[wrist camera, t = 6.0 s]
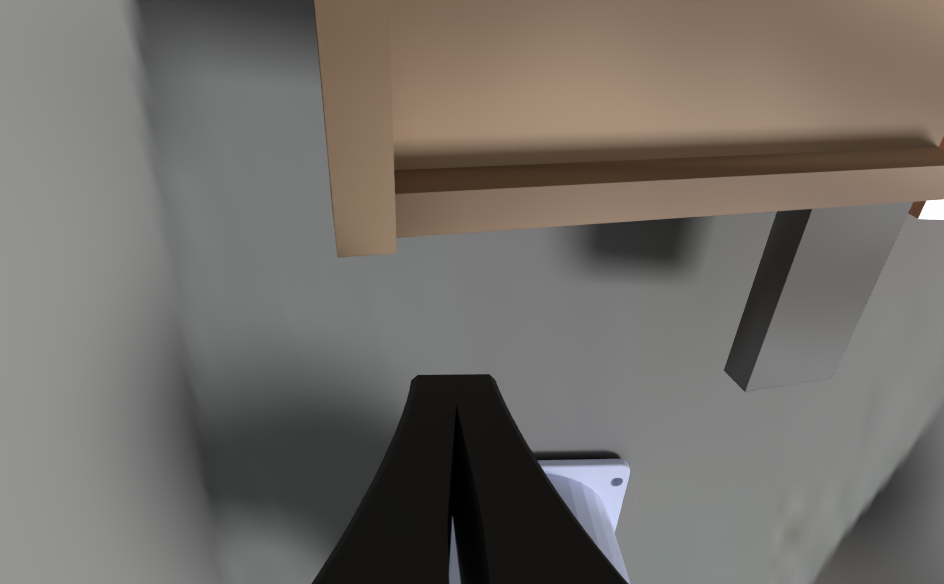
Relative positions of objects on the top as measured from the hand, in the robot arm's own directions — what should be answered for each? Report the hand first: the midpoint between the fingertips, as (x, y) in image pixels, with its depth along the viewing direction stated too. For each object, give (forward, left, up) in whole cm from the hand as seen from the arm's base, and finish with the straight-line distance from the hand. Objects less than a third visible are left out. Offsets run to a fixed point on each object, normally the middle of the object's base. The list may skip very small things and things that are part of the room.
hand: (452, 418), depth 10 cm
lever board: (+3, -5, -5) cm, 7 cm away
